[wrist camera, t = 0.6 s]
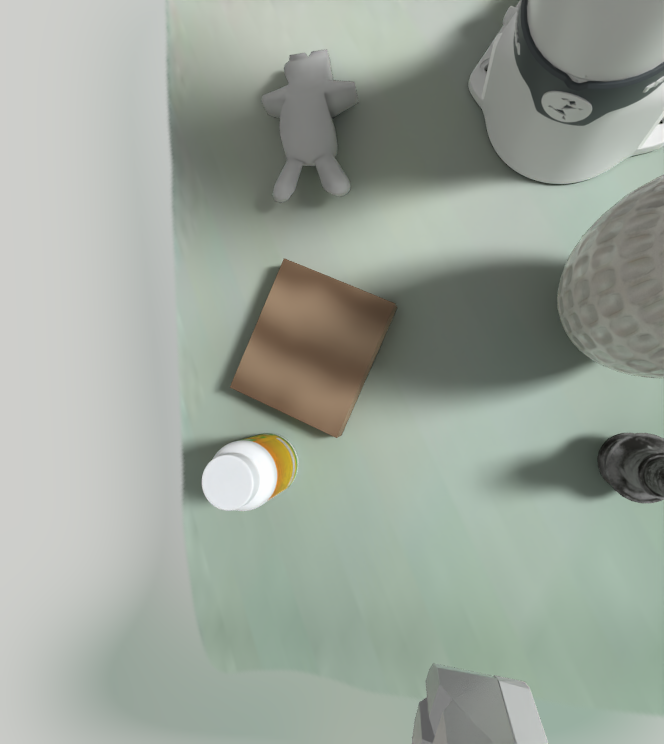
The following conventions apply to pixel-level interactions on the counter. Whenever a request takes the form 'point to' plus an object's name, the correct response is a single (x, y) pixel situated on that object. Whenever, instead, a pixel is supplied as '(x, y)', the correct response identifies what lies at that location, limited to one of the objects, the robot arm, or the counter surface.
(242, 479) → the supplement bottle
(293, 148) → the bunny figurine
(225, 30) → the counter surface
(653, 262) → the vase
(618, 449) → the salt shaker
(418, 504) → the counter surface
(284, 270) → the walnut base
